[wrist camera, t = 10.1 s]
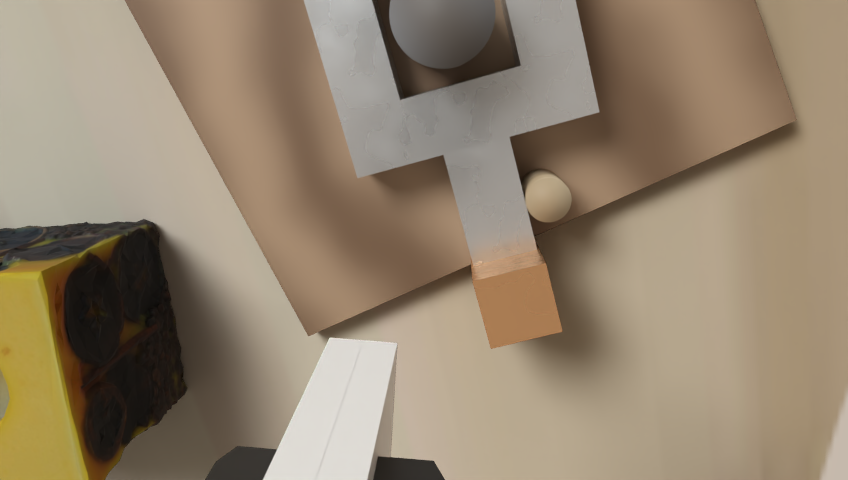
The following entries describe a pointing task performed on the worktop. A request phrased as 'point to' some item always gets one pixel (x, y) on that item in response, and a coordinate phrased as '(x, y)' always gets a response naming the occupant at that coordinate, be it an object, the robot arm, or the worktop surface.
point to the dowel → (546, 195)
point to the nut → (467, 137)
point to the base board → (429, 180)
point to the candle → (82, 347)
